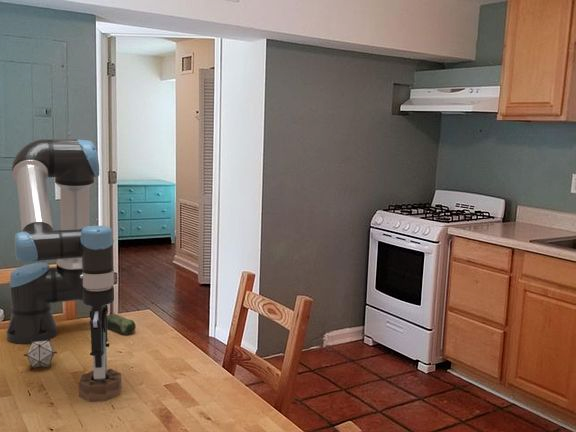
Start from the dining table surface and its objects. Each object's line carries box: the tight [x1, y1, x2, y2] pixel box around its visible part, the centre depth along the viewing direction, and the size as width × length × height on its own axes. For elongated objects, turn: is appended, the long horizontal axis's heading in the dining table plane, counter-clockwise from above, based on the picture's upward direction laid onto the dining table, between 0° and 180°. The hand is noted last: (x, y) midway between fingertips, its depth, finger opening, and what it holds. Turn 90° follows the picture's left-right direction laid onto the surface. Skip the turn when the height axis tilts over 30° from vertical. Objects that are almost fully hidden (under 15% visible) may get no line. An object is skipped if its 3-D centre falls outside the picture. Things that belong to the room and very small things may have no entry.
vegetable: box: [107, 313, 137, 336], centre depth 193 cm, size 14×5×5 cm, turn 52°
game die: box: [23, 338, 58, 371], centre depth 162 cm, size 9×8×10 cm
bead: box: [78, 368, 122, 402], centre depth 148 cm, size 10×10×4 cm
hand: (100, 374), depth 147 cm, fingers closed on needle, 3 cm apart
